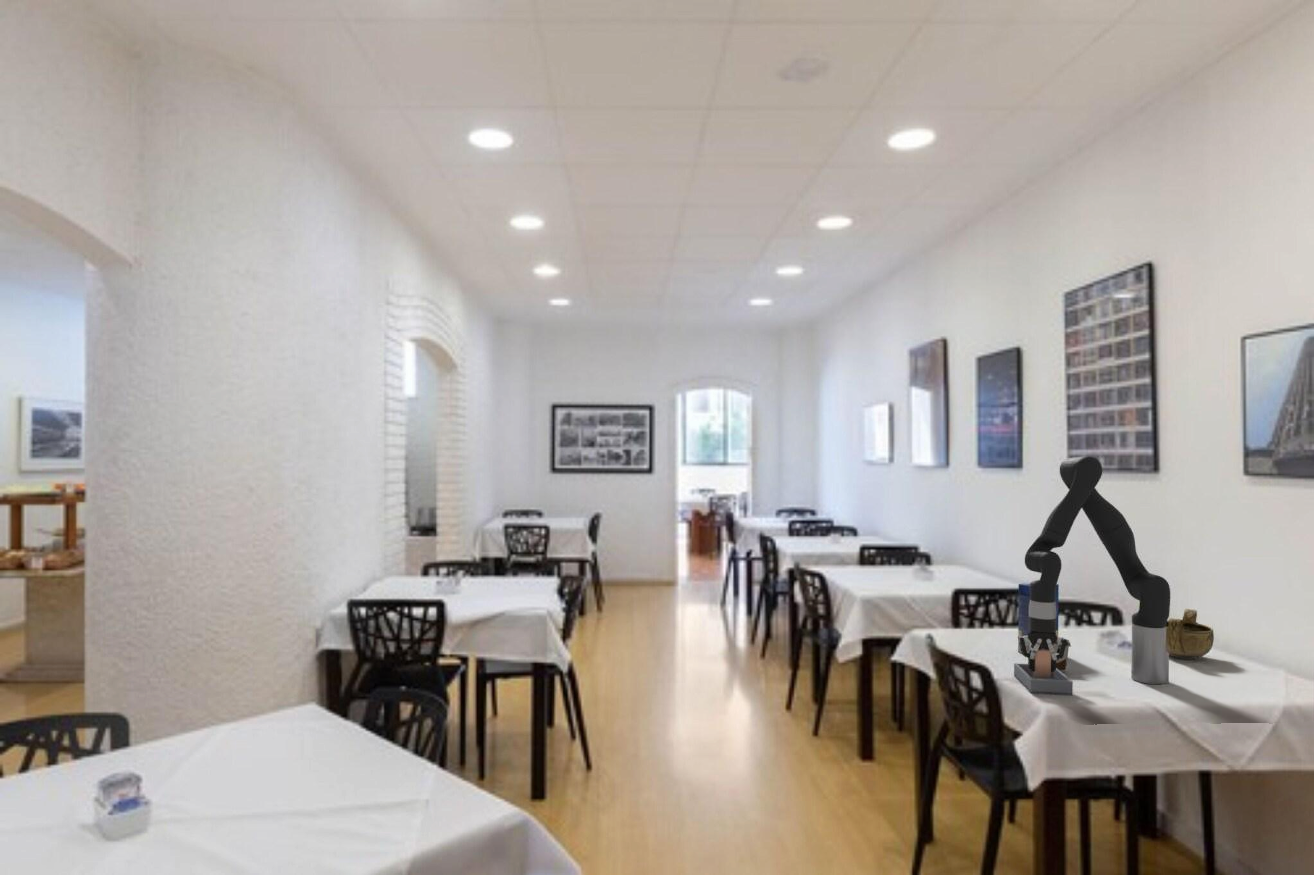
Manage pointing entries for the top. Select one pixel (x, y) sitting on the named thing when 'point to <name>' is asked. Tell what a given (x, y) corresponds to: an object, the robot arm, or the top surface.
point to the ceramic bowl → (1188, 637)
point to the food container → (1061, 662)
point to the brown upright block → (1042, 664)
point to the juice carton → (1024, 611)
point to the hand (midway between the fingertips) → (1041, 670)
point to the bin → (1043, 681)
